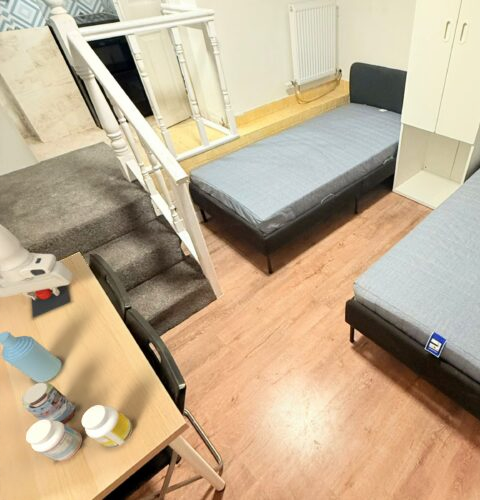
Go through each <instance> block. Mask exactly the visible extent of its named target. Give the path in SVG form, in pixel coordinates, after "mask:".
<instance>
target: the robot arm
mask: <svg viewBox="0 0 480 500" xmlns="http://www.w3.org/2000/svg"><path fill="white" fill-rule="evenodd" d="M73 277H74V276H73V273H72V272H71V271H70V269H69V268H68V267H67V266H66V265H65V264H64V263H62V262H61V261H58V260H57V257H56V256H55V254H52V253H37V252H30V251H29V250H28V249H26V248H25V247H23V246H22V244H21V242H20V240H19V239H18V238H17V236H15V235H14V234H13V233H12V232H11V231H10V230H9V229H8V228H6V227H5V226H4V225H3V224H1V223H0V297H2V298H7V297H11V296H13V297H14V296H16V295H17V296H18V295H23V296H25V297H28V298H31V300H32V299H34V300H38V299H40V298H39V297H38V296H37V295H36V294H35V291H38V290H43V289H49V288H50V289H51V290H52V292H51V293H50V294H51V295H52V296H58V295H59V293H60V291H59V290H58V289H57V287H59V286H64V285H67V286H68V285H70V284H71V282H72V280H73Z"/></svg>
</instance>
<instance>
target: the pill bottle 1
mask: <svg viewBox="0 0 480 500" xmlns="http://www.w3.org/2000/svg"><path fill="white" fill-rule="evenodd" d="M25 440H26V442H27V443H29V444H30V446H31V448H32V450H34V451H35V452H37V453H40V454H42V455H44V456H46V457H48V458H50V459H53V460H55V461H58V462H62V461H66V460H68V459H70V458H71V457H72V456H74V455H75V454H76V453H77V452H78V451H79V450H80V447H81V446H82V442H83V437H82V434H81V433H80V432H78V431H77V430H75V429H73V428H71V427H70V426H68V425H67V424H63V423H61V422H59V421H49V420H46V419H43V420H38V421H35V422H34V423H33V424H32V425H31V426H30V427H29V429H28V430H27V432H26V435H25Z"/></svg>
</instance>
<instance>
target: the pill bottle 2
mask: <svg viewBox="0 0 480 500" xmlns="http://www.w3.org/2000/svg"><path fill="white" fill-rule="evenodd" d="M81 424H82V426H83V428H84V430H85V431H84V432H85V433H86V435H87V436H88V437H89V438H91V439H93V440H94V441H96V442H98V443H99V444H102V445H103V446H104V447H107V448H111V449H113V448H117V447H119V446H121V445H123V444H125V442H127V440H128V439H129V437H130V436H131V433H132V430H133V423H132V422H131V420H130V419H129V418H128V417H126V416H125V415H124V414H122V413H121V412H120V411H119V410H117V409H116V408H115V407H113V406H110V405H109V406H108V405H106V406H103V405H101V404H95V405H93V406H91V407H89V408H88V409H87V410H86V411H85V412H84V414H83V415H82V418H81Z"/></svg>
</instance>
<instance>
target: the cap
mask: <svg viewBox="0 0 480 500" xmlns="http://www.w3.org/2000/svg"><path fill="white" fill-rule="evenodd" d="M34 292H35V294H36V295H37V296H38V297H39V298H40V299H46V298H48V297H50V296H51V294H50V293H51V292H52V290H51V289H50V288H49V289H43V290H38V291H34Z"/></svg>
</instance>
